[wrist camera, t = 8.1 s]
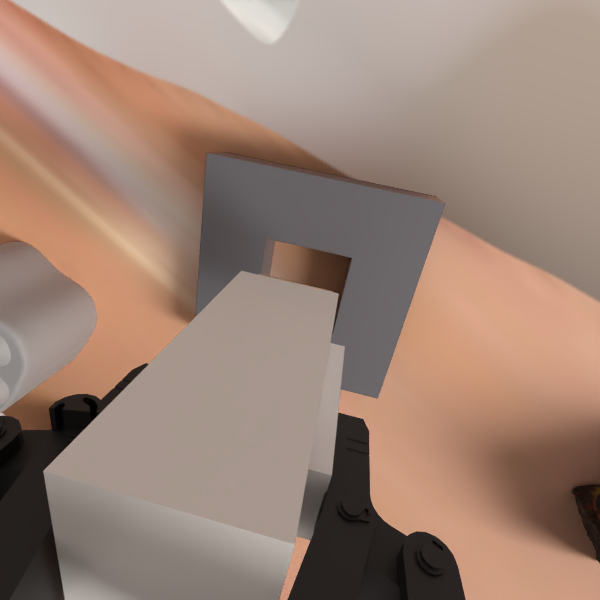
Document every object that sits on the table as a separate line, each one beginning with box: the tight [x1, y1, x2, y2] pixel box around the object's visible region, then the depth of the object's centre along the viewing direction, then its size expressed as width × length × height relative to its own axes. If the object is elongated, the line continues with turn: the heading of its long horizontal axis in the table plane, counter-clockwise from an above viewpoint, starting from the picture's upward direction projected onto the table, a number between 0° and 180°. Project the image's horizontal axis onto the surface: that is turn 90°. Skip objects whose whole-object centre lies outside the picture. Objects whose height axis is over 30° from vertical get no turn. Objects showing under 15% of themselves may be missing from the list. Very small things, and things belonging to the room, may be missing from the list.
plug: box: [43, 271, 339, 600], centre depth 14 cm, size 9×4×14 cm, turn 170°
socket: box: [195, 152, 445, 399], centre depth 24 cm, size 14×14×4 cm
